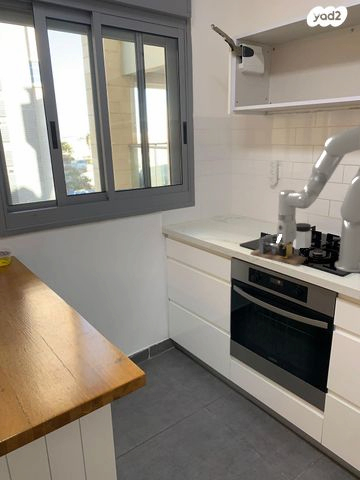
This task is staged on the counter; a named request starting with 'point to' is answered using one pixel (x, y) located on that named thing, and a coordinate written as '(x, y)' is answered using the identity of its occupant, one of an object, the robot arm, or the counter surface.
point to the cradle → (275, 251)
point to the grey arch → (262, 244)
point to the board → (281, 258)
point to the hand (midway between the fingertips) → (285, 254)
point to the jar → (302, 236)
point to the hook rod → (287, 247)
